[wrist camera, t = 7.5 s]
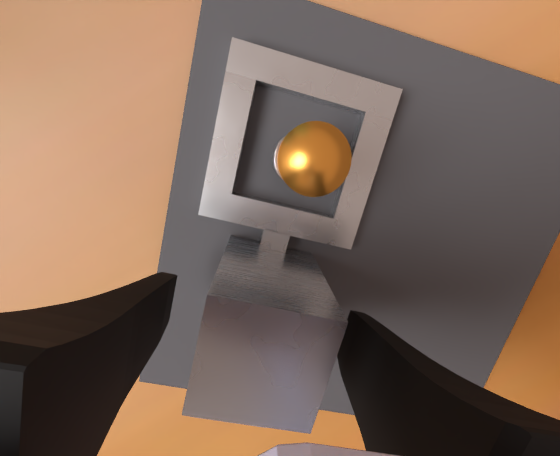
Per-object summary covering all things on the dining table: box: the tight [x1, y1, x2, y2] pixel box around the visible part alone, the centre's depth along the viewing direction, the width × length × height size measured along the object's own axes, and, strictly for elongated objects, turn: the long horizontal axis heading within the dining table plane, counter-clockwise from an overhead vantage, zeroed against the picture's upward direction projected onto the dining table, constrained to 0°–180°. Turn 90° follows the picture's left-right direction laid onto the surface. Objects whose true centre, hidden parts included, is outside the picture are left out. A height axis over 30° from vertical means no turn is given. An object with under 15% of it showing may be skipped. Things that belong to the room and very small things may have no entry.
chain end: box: [182, 37, 403, 434], centre depth 11 cm, size 18×7×6 cm, turn 166°
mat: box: [139, 0, 560, 415], centre depth 14 cm, size 19×19×1 cm
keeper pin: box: [272, 121, 352, 197], centre depth 10 cm, size 2×2×5 cm
